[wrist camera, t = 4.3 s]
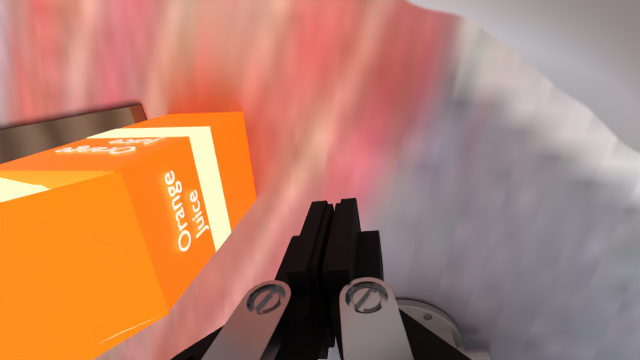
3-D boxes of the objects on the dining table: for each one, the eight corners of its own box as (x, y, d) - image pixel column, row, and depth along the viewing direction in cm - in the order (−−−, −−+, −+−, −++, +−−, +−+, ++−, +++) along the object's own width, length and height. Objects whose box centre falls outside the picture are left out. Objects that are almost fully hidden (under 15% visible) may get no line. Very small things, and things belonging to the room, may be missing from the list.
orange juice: (187, 198, 31) (-73, 404, 13) (165, 113, 28) (-231, 229, 9) (258, 199, 30) (81, 431, 12) (244, 110, 26) (-38, 239, 8)
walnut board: (140, 104, 28) (128, 107, 26) (196, 247, 33) (189, 255, 32) (-17, 132, 32) (-35, 136, 30) (56, 255, 38) (45, 263, 36)
